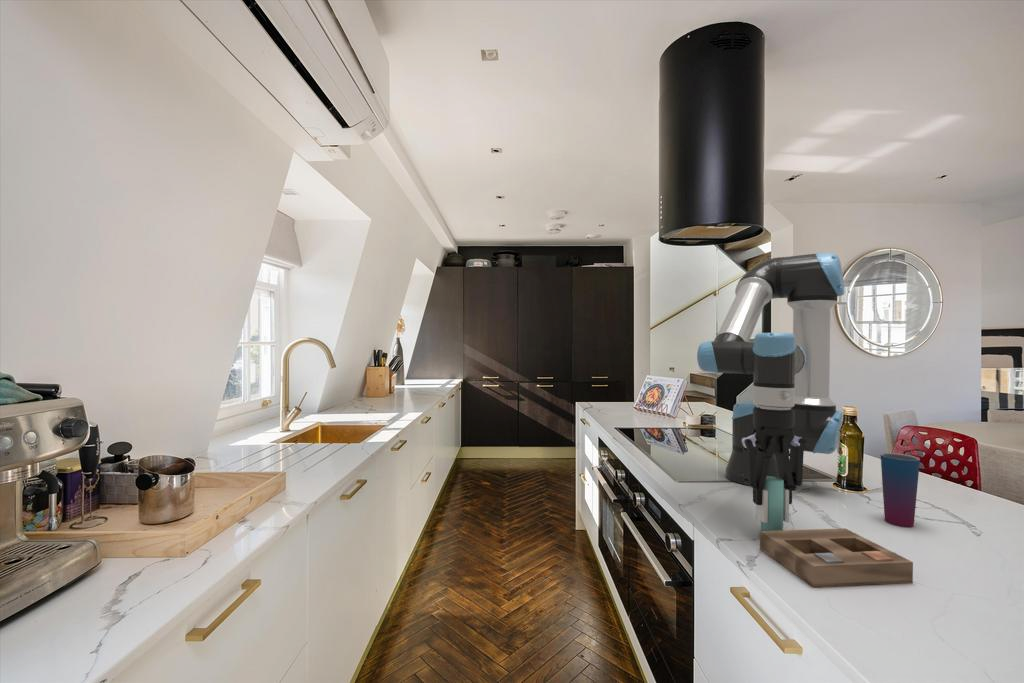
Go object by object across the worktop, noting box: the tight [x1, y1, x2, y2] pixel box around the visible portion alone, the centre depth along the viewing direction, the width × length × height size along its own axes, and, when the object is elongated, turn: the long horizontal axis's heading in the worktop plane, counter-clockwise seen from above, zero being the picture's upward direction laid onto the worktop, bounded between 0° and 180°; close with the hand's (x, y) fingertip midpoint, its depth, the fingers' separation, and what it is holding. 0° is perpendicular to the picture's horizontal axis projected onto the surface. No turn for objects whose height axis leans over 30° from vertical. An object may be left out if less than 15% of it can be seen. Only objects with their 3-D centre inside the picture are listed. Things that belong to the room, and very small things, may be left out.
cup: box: [880, 452, 921, 528], centre depth 104 cm, size 7×7×15 cm
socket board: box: [759, 527, 914, 588], centre depth 84 cm, size 14×18×4 cm
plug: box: [760, 476, 784, 531], centre depth 96 cm, size 4×4×12 cm
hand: (772, 519), depth 96 cm, fingers closed on plug, 4 cm apart
